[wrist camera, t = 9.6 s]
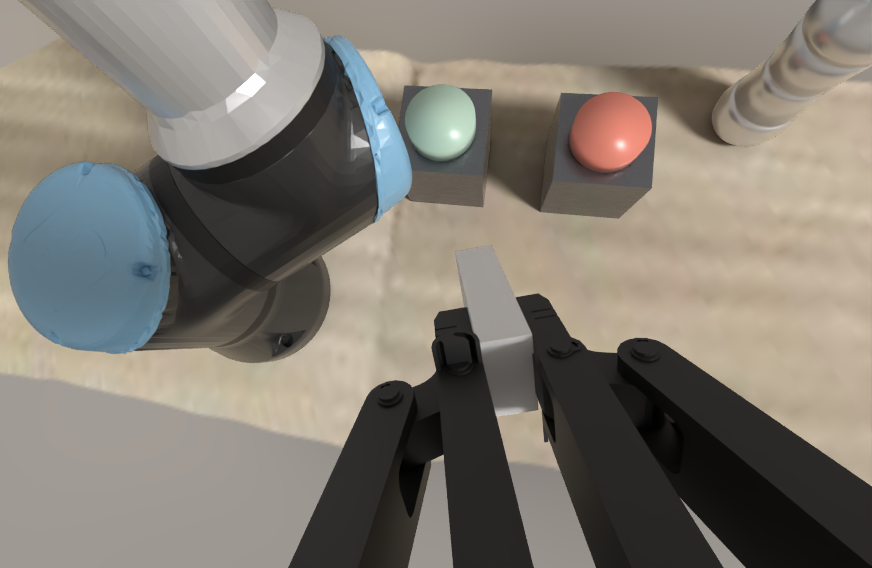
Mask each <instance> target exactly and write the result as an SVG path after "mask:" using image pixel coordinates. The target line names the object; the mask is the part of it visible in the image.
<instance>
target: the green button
mask: <svg viewBox="0 0 872 568" xmlns="http://www.w3.org/2000/svg"><path fill="white" fill-rule="evenodd" d="M405 126H406V130H407V133H408V135H409V138H410V140H411V143H412V145H413V147H414V148H415V150H416V151H417V152H418V153H419V154H421V155H422V156H423V157H425V158H427V159H430V160H433V161H448V160H452V159H454V158H457V157H458V156H460V155H464V152H465V151H466V150H467V149H468V148H469V147H470V145H471V144H472V142H473V140H474V137H475V133H476V116H475V108H474V105H473V103H472V101H471V99H470V98H469V96H468V95H467V94H466V93H465V92H464V91H462V90H461V89H459V88H457V87H454V86H451V85H445V84H439V85H433V86H430V87H427V88H425V89H423V90H422V91H420V92H419V93H418V94H417V95H415V97H414V98H413V99H412V100H411V102H410V103H409V105H408V107H407V110H406V114H405Z"/></svg>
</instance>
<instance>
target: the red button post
mask: <svg viewBox="0 0 872 568" xmlns="http://www.w3.org/2000/svg"><path fill="white" fill-rule="evenodd" d="M595 96H597V95H595V94H574V93H561V95H560V99H559V102H558V105H557V109H556V112H555V115H554V119H553V122H552V125H551V129H550V132H549V135H548V139H547V145H546V155H545V165H544V175H543V186H542V196H541V206H540V212H547V213H559V214H571V215H583V216H595V217H607V218H620V217H621V216H622V215H623V214H624V213H625V212H626V211H627V210H628V209H629V208H631V207H632V206H633V205H634V204H635V203H636V202H637V201H638V200H639V199H640V198H642V197H643V196H644V195H645V194H646V193H647V192H648V191H649V190H650V189H651V188H652V177H653V162H654V148H655V133H656V119H657V105H658V97H638V96H632V97H634V98H635V99H637V100H638V101H639V102H641V103H642V104H643V105H644V107H645V108H646V109H647V111H648V113H649V115H650V118H651V123H652V132H651V136H650V139H649V142H648V144H647V145H646V147H645V148H644V149H643V150H642V152H641V153H640V154H639V155H638V156H637V158H636V159H635V160H634V161H633V162H632V163H631V164H630V165H628V166H627V167H625V168H624V169H622V170H619V171H616V172H610V173H601V172H596V171H592V170H590V169H588V168H586V167H584V166H583V165H581V164H580V163H579V162H576V158H575V157H574V155H573V154H572V151H571V149H570V145H569V134H570V130H571V127H572V125H573V122H574V120H575V117H576V115H577V113H578V111H579V109H580V108H581V107H582V106H583V104H584V103H586V102H587V101H588V100H589V99H591V98H593V97H595Z"/></svg>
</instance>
